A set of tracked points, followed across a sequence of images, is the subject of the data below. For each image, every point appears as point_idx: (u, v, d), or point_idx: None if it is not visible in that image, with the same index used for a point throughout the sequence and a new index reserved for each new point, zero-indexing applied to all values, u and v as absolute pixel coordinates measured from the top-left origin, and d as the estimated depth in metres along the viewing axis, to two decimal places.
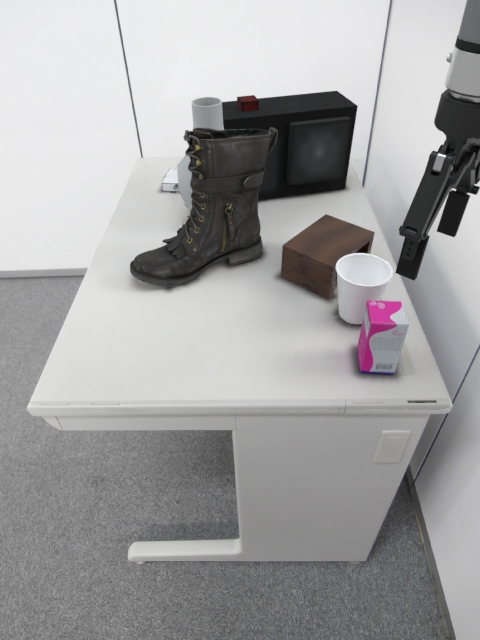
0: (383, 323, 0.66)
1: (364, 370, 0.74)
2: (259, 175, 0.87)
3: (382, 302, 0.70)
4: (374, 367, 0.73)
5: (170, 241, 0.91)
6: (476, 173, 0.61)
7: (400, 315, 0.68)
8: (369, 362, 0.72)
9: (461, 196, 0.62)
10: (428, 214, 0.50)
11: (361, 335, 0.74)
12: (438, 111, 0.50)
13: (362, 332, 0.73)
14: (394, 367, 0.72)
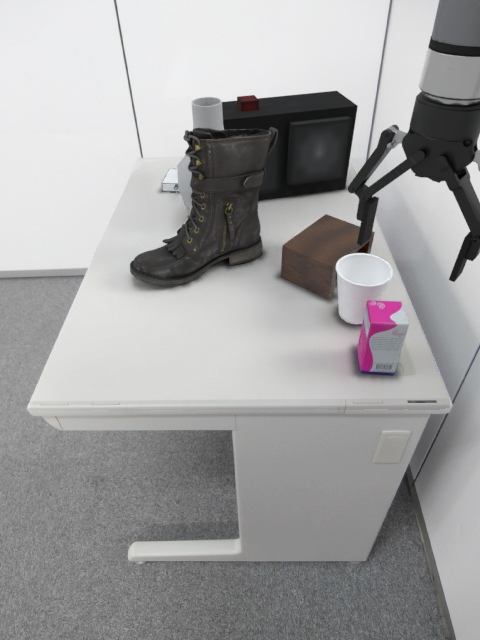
0: (383, 323, 0.66)
1: (364, 370, 0.74)
2: (259, 175, 0.87)
3: (382, 302, 0.70)
4: (374, 367, 0.73)
5: (170, 241, 0.91)
6: None
7: (400, 315, 0.68)
8: (369, 362, 0.72)
9: None
10: (359, 171, 0.58)
11: (361, 335, 0.74)
12: None
13: (362, 332, 0.73)
14: (394, 367, 0.72)
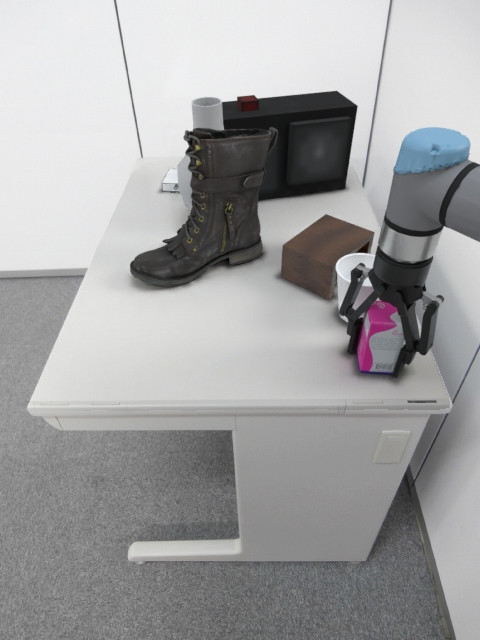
0: (383, 323, 0.66)
1: (364, 370, 0.74)
2: (259, 175, 0.87)
3: (382, 302, 0.70)
4: (374, 367, 0.73)
5: (170, 241, 0.91)
6: (420, 340, 0.66)
7: None
8: (369, 362, 0.72)
9: None
10: (343, 300, 0.71)
11: (361, 335, 0.74)
12: None
13: (362, 332, 0.73)
14: (394, 367, 0.72)
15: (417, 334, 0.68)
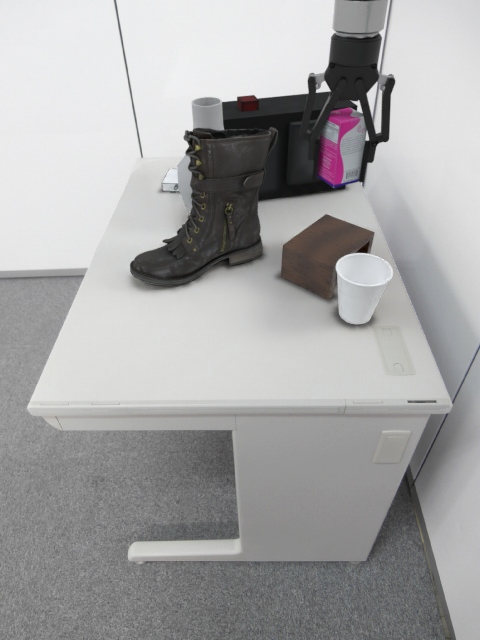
0: (350, 120, 0.72)
1: (337, 183, 0.78)
2: (259, 175, 0.87)
3: (335, 111, 0.75)
4: (344, 177, 0.78)
5: (170, 241, 0.91)
6: (382, 127, 0.73)
7: (356, 113, 0.74)
8: (341, 171, 0.77)
9: (365, 145, 0.76)
10: (302, 119, 0.74)
11: (323, 153, 0.78)
12: None
13: (324, 148, 0.77)
14: (359, 172, 0.79)
15: (374, 127, 0.75)
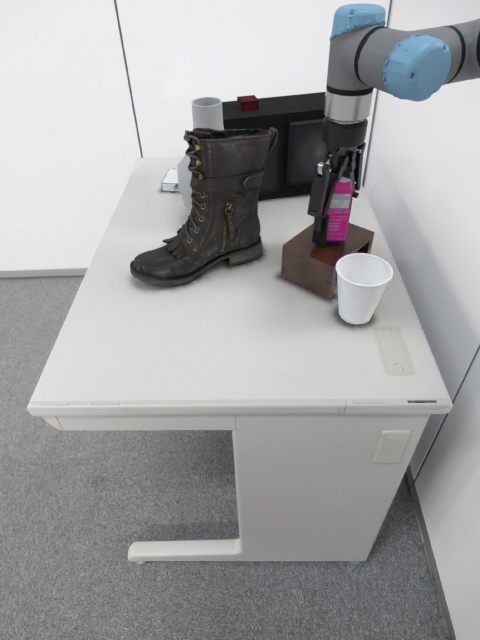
0: (351, 185, 0.81)
1: (345, 238, 0.87)
2: (259, 175, 0.87)
3: None
4: None
5: (170, 241, 0.91)
6: (356, 180, 0.86)
7: None
8: None
9: None
10: (320, 201, 0.78)
11: None
12: (322, 129, 0.75)
13: None
14: None
15: None
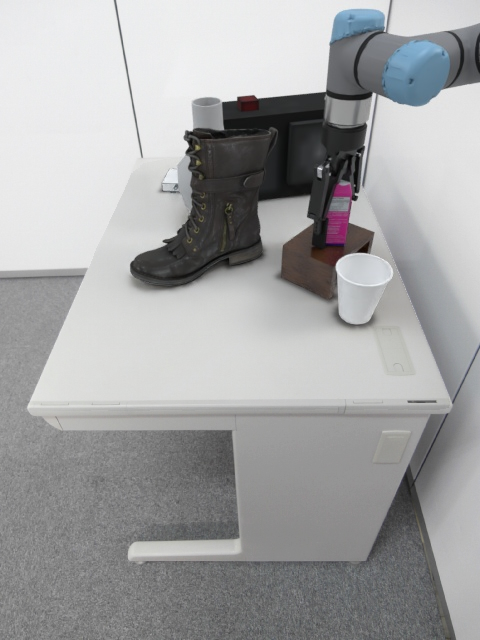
0: None
1: None
2: (259, 175, 0.87)
3: None
4: None
5: (170, 241, 0.91)
6: (356, 183, 0.86)
7: None
8: None
9: None
10: (320, 205, 0.78)
11: None
12: None
13: None
14: None
15: None
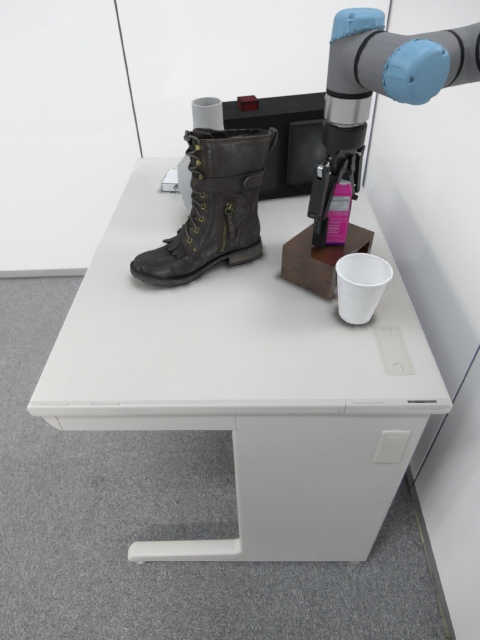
0: (351, 188, 0.81)
1: (345, 240, 0.87)
2: (259, 175, 0.87)
3: None
4: None
5: (170, 241, 0.91)
6: (356, 183, 0.86)
7: None
8: None
9: None
10: (320, 204, 0.78)
11: None
12: None
13: None
14: None
15: None
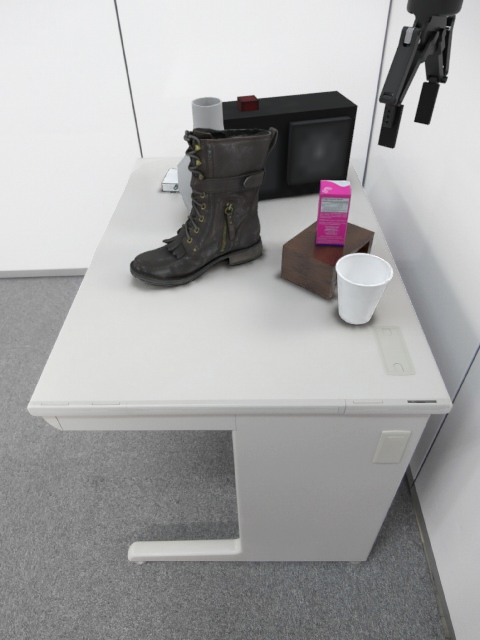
0: (350, 190, 0.81)
1: (344, 242, 0.88)
2: (259, 175, 0.87)
3: (323, 187, 0.82)
4: None
5: (170, 241, 0.91)
6: (444, 64, 0.74)
7: (339, 182, 0.83)
8: None
9: (432, 85, 0.75)
10: (401, 79, 0.63)
11: (325, 225, 0.85)
12: None
13: (327, 221, 0.84)
14: None
15: None
